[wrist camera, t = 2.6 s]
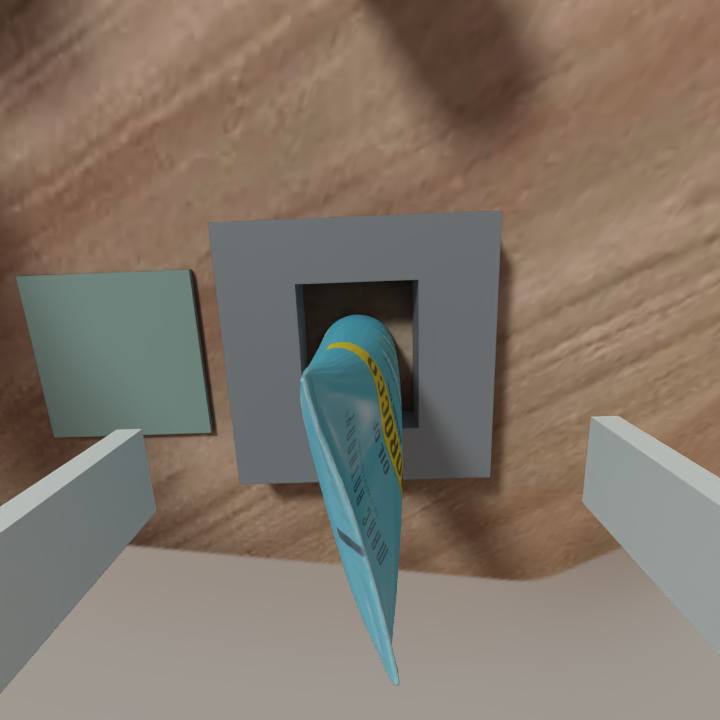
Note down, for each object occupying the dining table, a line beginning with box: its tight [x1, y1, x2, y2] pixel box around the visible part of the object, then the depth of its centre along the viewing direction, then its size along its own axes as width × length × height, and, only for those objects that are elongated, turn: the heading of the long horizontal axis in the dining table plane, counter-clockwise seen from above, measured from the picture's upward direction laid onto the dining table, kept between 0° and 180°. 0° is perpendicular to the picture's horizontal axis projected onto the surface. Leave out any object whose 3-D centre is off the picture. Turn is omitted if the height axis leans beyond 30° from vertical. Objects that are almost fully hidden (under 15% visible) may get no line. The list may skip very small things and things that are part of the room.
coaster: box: [16, 270, 213, 438], centre depth 27 cm, size 11×11×1 cm
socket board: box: [208, 211, 502, 484], centre depth 25 cm, size 16×16×3 cm
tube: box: [300, 314, 403, 686], centre depth 17 cm, size 7×5×19 cm, turn 19°
